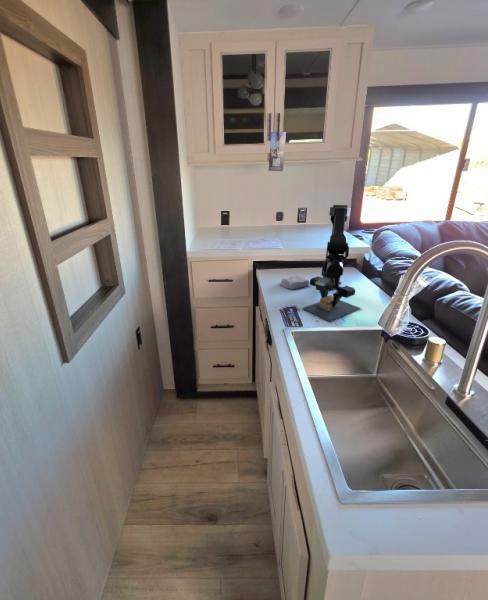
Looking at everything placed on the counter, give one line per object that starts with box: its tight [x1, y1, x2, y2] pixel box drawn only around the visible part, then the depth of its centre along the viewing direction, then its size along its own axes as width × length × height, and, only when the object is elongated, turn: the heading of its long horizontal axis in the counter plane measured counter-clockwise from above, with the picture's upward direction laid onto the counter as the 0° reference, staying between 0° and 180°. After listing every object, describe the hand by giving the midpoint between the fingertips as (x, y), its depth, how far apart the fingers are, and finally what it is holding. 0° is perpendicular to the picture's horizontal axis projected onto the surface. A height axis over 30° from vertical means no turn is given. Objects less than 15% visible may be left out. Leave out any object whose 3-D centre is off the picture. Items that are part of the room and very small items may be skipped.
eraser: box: [319, 294, 339, 311], centre depth 133 cm, size 7×4×4 cm, turn 125°
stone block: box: [280, 275, 310, 290], centre depth 158 cm, size 12×5×10 cm
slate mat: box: [302, 299, 361, 322], centre depth 133 cm, size 20×14×1 cm
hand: (328, 305), depth 134 cm, fingers closed on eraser, 4 cm apart
